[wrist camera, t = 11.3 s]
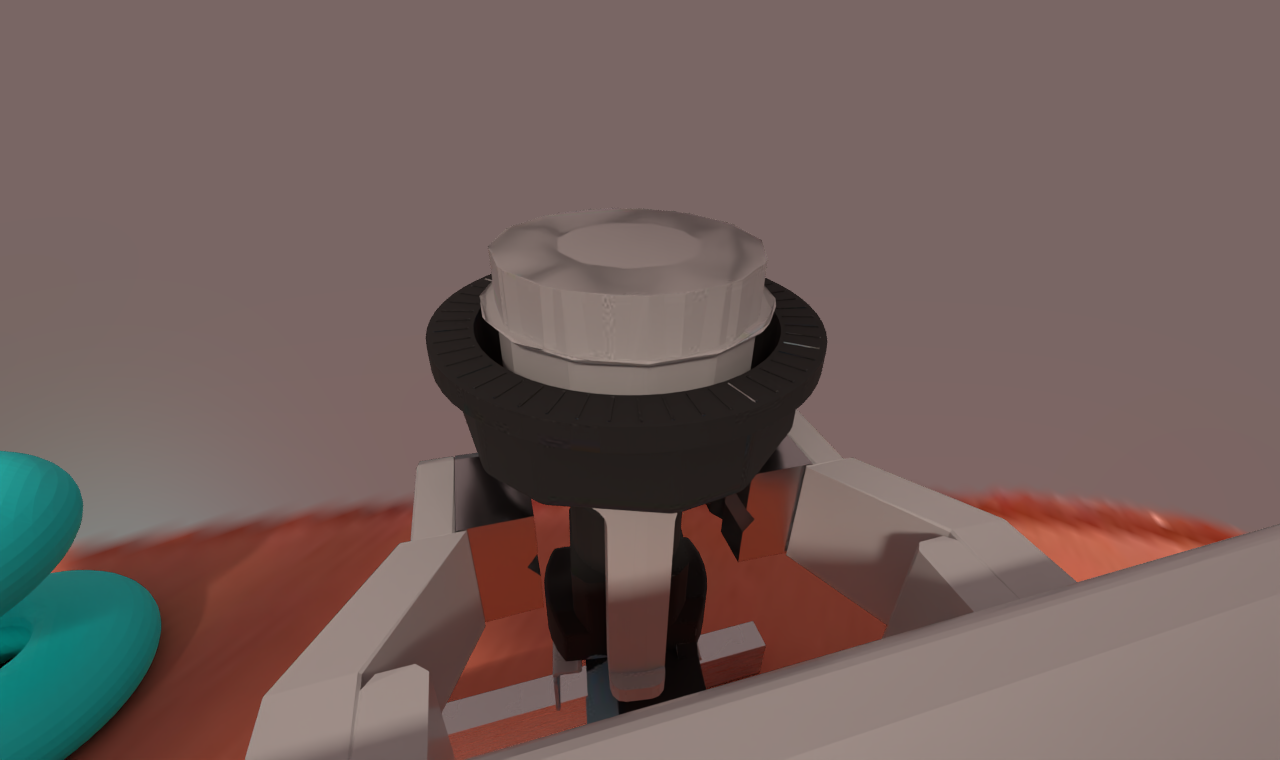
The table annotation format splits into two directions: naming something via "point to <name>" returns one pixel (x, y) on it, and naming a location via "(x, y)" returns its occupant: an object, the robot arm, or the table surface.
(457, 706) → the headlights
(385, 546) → the table surface
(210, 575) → the table surface
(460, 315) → the push button
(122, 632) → the donuts
